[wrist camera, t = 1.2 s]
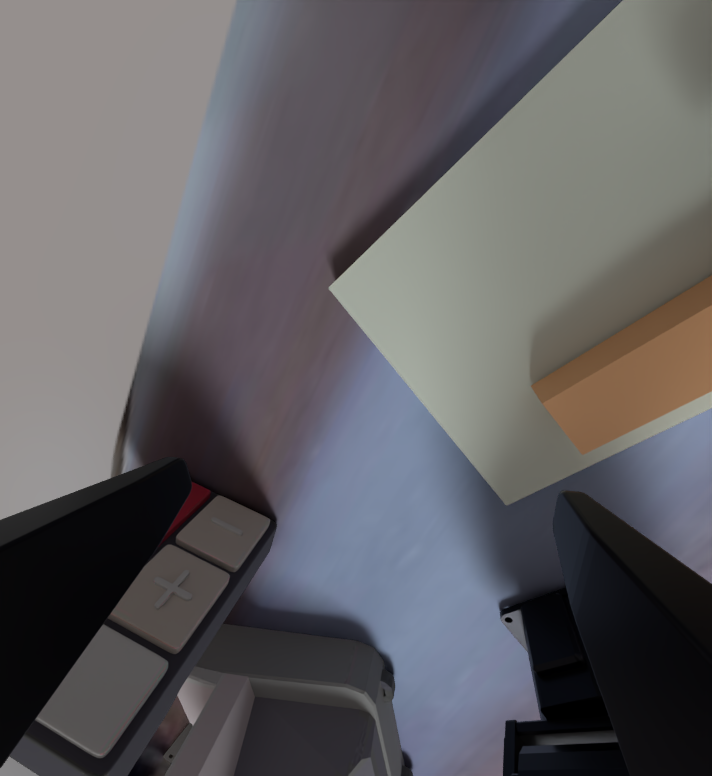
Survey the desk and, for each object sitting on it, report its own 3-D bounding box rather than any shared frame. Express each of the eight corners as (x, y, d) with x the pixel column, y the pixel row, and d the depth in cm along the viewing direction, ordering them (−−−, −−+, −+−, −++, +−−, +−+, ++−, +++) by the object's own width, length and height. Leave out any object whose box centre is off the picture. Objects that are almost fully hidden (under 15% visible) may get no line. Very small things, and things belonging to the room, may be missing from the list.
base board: (1038, 223, 13) (1109, 218, 11) (503, 490, 21) (506, 505, 20) (805, -166, 11) (852, -225, 10) (336, 286, 20) (328, 287, 19)
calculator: (281, 515, 27) (101, 775, 13) (270, 553, 29) (101, 818, 15) (161, 458, 28) (-112, 640, 15) (158, 498, 30) (-90, 693, 16)
